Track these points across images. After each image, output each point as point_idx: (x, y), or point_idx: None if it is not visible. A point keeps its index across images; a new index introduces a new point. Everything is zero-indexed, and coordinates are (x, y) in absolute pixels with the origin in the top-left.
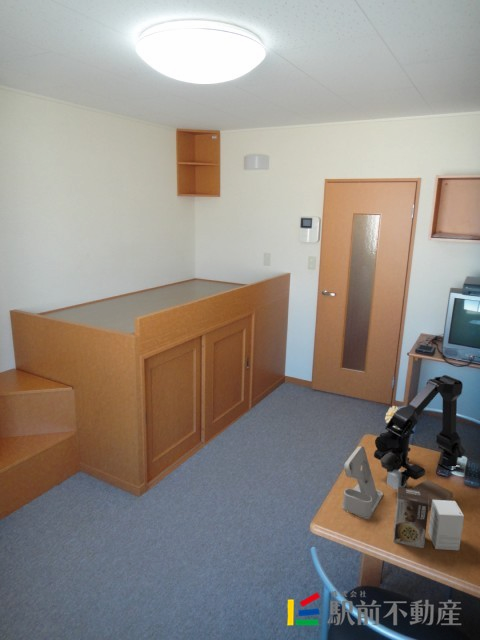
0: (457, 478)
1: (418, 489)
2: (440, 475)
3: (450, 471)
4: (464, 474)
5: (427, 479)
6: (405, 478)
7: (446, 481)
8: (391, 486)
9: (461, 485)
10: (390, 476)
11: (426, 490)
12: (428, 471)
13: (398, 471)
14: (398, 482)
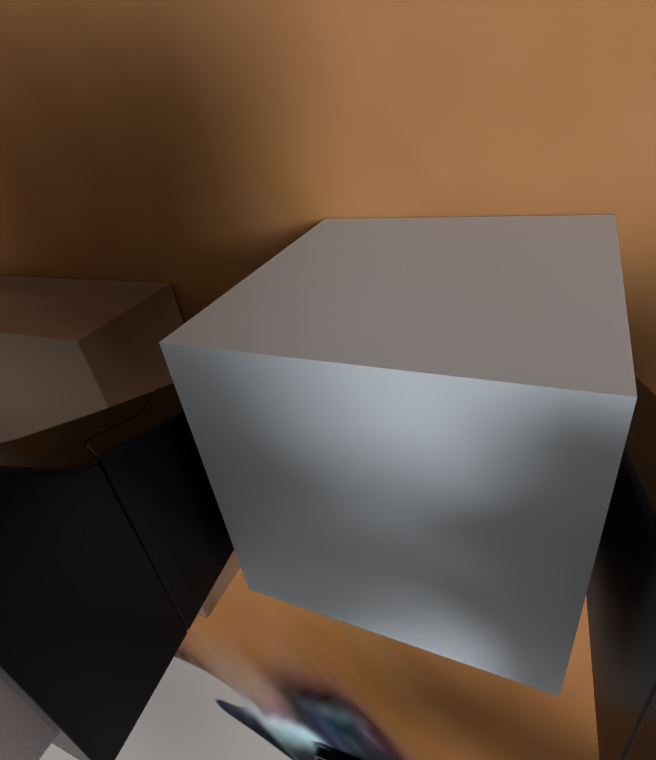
0: (251, 694)
1: (44, 384)
2: (322, 695)
3: (325, 743)
4: (268, 732)
5: (200, 610)
6: (61, 430)
7: (250, 649)
8: (467, 218)
9: (187, 644)
10: (481, 320)
11: (27, 433)
12: (409, 717)
13: (409, 598)
14: (233, 287)
